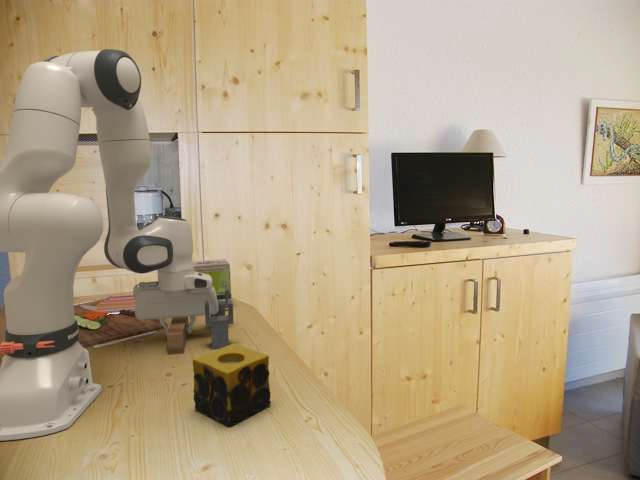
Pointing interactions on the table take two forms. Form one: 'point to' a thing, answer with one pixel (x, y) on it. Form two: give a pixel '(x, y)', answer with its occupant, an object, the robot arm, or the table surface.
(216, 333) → the bracket near
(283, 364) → the table surface
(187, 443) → the table surface
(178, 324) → the rail
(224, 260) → the tea box
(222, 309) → the bracket far
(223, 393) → the yellow and black cube
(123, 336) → the chopping board
